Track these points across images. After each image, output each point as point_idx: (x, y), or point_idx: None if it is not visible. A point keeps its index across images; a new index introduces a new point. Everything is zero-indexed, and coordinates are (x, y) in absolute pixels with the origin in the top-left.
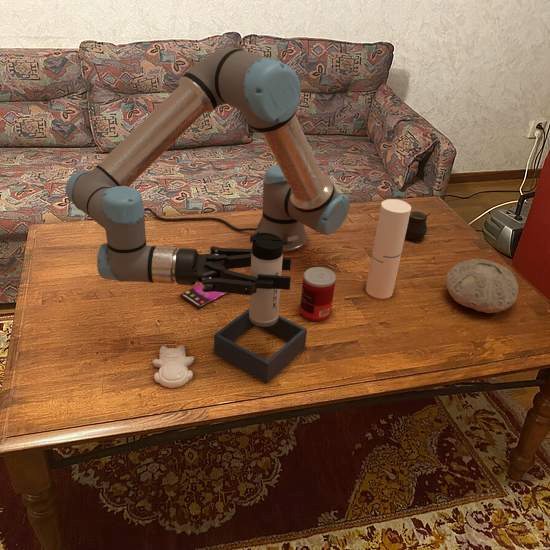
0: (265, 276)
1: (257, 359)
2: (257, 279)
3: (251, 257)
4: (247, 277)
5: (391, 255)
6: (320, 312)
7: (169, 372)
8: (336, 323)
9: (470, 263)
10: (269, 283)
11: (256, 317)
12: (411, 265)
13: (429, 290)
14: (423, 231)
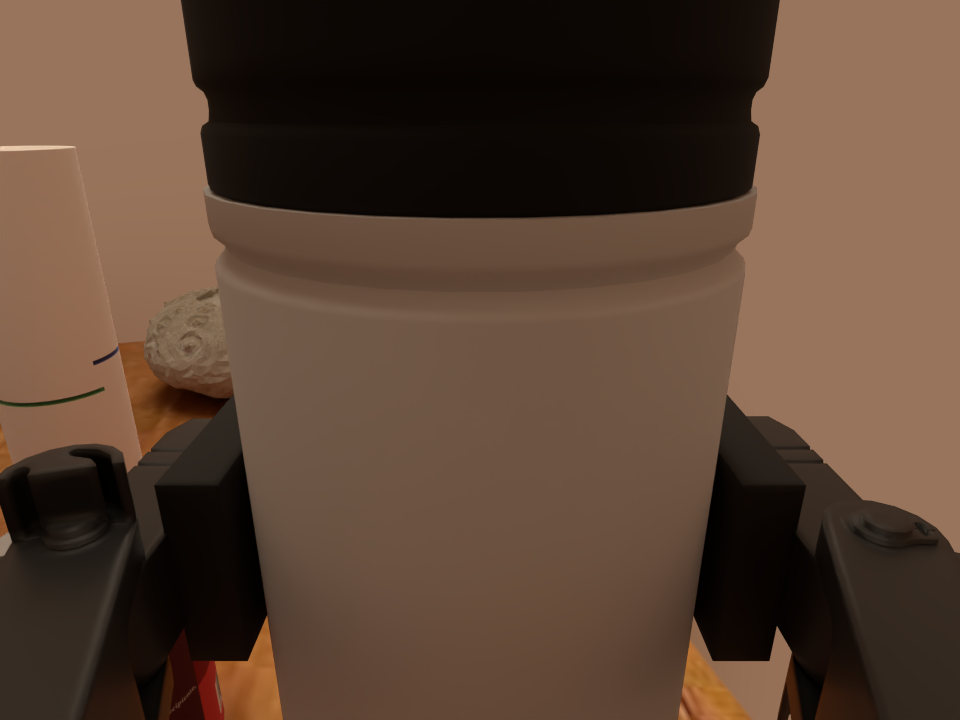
0: (738, 427)
1: None
2: (803, 531)
3: (555, 347)
4: (945, 618)
5: (111, 345)
6: (217, 688)
7: None
8: (256, 665)
9: (190, 306)
10: (801, 438)
11: None
12: (8, 450)
13: (163, 434)
14: None
